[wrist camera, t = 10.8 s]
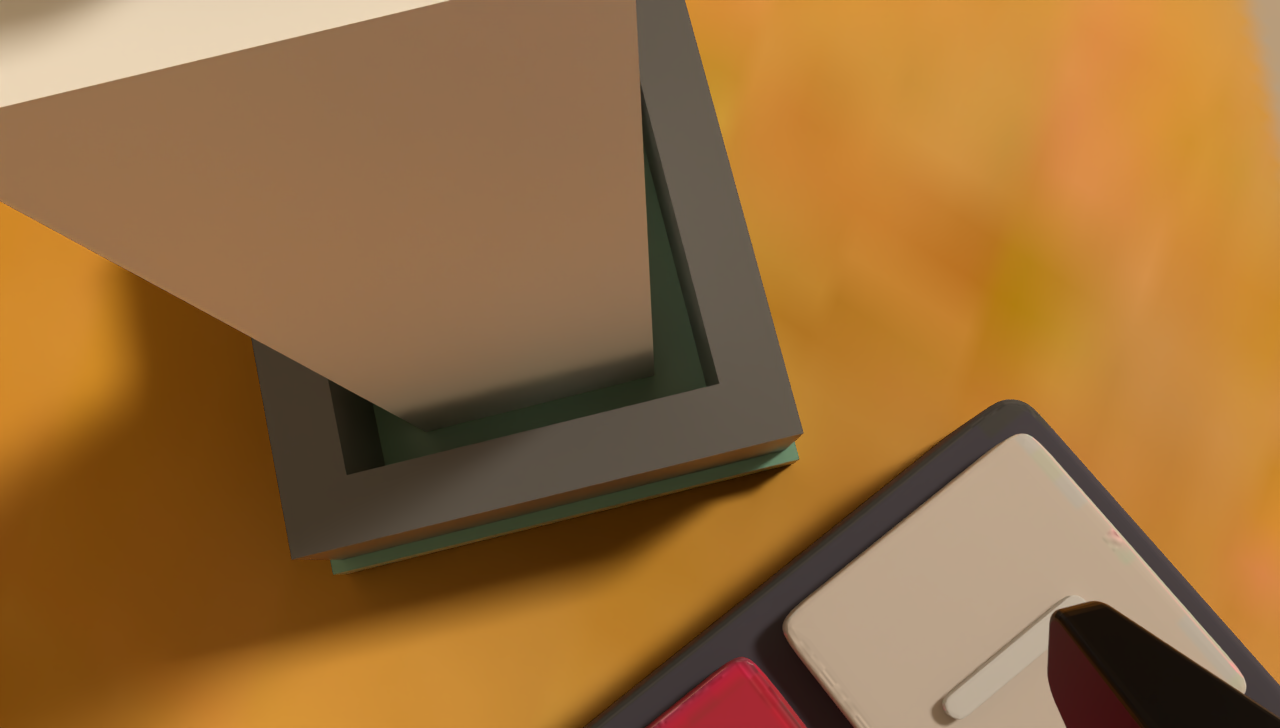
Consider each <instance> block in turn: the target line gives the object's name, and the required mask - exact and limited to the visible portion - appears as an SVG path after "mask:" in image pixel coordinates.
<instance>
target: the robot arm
mask: <svg viewBox="0 0 1280 728" xmlns="http://www.w3.org/2000/svg"><path fill="white" fill-rule="evenodd" d="M1047 677H1048V683H1049V687H1050V690H1051V693H1052V696H1053V699H1054V702H1055V704H1056V706H1057V708H1058V711H1059V713H1060V715H1061V717H1062V720H1063V722H1064V724H1065V726H1066V728H1280V717H1278V716H1276V715H1275V714H1273V713H1272V712H1270V711H1269V710H1267V709H1266V708H1264V707H1263V706H1261V705H1260V704H1258V703H1257V702H1255V701H1254V700H1252V699H1251V698H1249V697H1248V696H1246V695H1245V694H1243V693H1242V692H1240V691H1239V690H1237V689H1236V688H1234V687H1232V686H1231V685H1229V684H1228V683H1226V682H1225V681H1223V680H1222V679H1220V678H1219V677H1217V676H1216V675H1214V674H1213V673H1211V672H1210V671H1208V670H1207V669H1205V668H1204V667H1202V666H1201V665H1199V664H1198V663H1196V662H1195V661H1193V660H1192V659H1190V658H1188V657H1187V656H1185V655H1184V654H1182V653H1181V652H1179V651H1178V650H1176V649H1175V648H1173V647H1172V646H1170V645H1169V644H1167V643H1166V642H1164V641H1163V640H1161V639H1160V638H1158V637H1157V636H1155V635H1154V634H1152V633H1151V632H1149V631H1148V630H1146V629H1144V628H1143V627H1141V626H1140V625H1138V624H1137V623H1135V622H1134V621H1132V620H1131V619H1129V618H1128V617H1126V616H1125V615H1123V614H1122V613H1120V612H1119V611H1117V610H1116V609H1114V608H1113V607H1111V606H1109V605H1108V604H1106V603H1103V602H1099V601H1088V602H1084V603H1080V604H1077V605H1073V606H1069V607H1065V608H1061V609H1058V610H1056V611H1054V612H1053V614H1052V615H1051V617H1050V622H1049V638H1048V661H1047Z"/></svg>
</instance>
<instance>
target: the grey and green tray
mask: <svg viewBox="0 0 1280 728" xmlns="http://www.w3.org/2000/svg"><path fill="white" fill-rule="evenodd" d="M636 13H637V33H638V53H639V73H640V94H641V114H642V134H643V154H644V174H645V194H646V214H647V234H648V254H649V274H650V294H651V314H652V334H653V354H654V374H655V375H654V376H650V377H646V378H642V379H638V380H634V381H630V382H626V383H622V384H618V385H614V386H610V387H606V388H602V389H598V390H594V391H590V392H586V393H582V394H577V395H573V396H569V397H565V398H561V399H557V400H553V401H549V402H545V403H541V404H537V405H533V406H529V407H525V408H521V409H517V410H513V411H509V412H505V413H501V414H497V415H493V416H489V417H484V418H480V419H476V420H472V421H468V422H464V423H460V424H456V425H452V426H448V427H444V428H440V429H436V430H432V431H428V432H425V431H423V430H421V429H420V428H418V427H416V426H414V425H412V424H410V423H408V422H407V421H405V420H403V419H401V418H399V417H397V416H396V415H394V414H392V413H390V412H388V411H386V410H384V409H383V408H381V407H379V406H377V405H375V404H373V403H372V402H370V401H368V400H366V399H364V398H362V397H360V396H359V395H357V394H355V393H353V392H351V391H349V390H348V389H346V388H344V387H342V386H340V385H338V384H336V383H335V382H333V381H331V380H329V379H327V378H325V377H324V376H322V375H320V374H318V373H316V372H314V371H313V370H311V369H309V368H307V367H305V366H303V365H301V364H300V363H298V362H296V361H294V360H292V359H290V358H289V357H287V356H285V355H283V354H281V353H279V352H277V351H276V350H274V349H272V348H270V347H268V346H266V345H265V344H263V343H261V342H259V341H257V340H255V339H253V338H252V337H251V339H252V345H253V350H254V355H255V361H256V366H257V372H258V377H259V383H260V388H261V394H262V399H263V405H264V410H265V416H266V421H267V427H268V432H269V438H270V443H271V449H272V454H273V460H274V465H275V471H276V476H277V481H278V487H279V492H280V498H281V503H282V509H283V514H284V520H285V525H286V531H287V536H288V542H289V547H290V553H291V558H292V560H330V561H331V566H332V572H333V575H336V574H349V573H353V572H357V571H361V570H365V569H369V568H373V567H377V566H382V565H386V564H390V563H394V562H398V561H402V560H406V559H410V558H414V557H418V556H422V555H426V554H430V553H434V552H438V551H442V550H446V549H450V548H454V547H458V546H462V545H466V544H470V543H474V542H478V541H482V540H486V539H490V538H495V537H499V536H503V535H507V534H511V533H515V532H519V531H523V530H527V529H531V528H535V527H539V526H543V525H547V524H551V523H555V522H559V521H563V520H567V519H571V518H575V517H579V516H583V515H587V514H591V513H595V512H599V511H603V510H608V509H612V508H616V507H620V506H624V505H628V504H632V503H636V502H640V501H644V500H648V499H652V498H656V497H660V496H664V495H668V494H672V493H676V492H680V491H684V490H688V489H692V488H696V487H700V486H704V485H708V484H712V483H717V482H721V481H725V480H729V479H733V478H737V477H741V476H745V475H749V474H753V473H757V472H761V471H765V470H769V469H773V468H777V467H781V466H785V465H789V464H793V463H795V462H796V461H797V460H799V456H798V453H797V449H796V445H795V442H794V441H795V440H797V439H798V438H799V437H800V436H801V435H802V434H803V430H802V426H801V422H800V419H799V415H798V411H797V408H796V404H795V400H794V397H793V393H792V390H791V386H790V382H789V379H788V375H787V371H786V368H785V364H784V360H783V357H782V353H781V349H780V346H779V342H778V338H777V335H776V331H775V328H774V324H773V320H772V317H771V313H770V309H769V306H768V302H767V298H766V295H765V291H764V287H763V284H762V280H761V276H760V273H759V269H758V266H757V262H756V258H755V255H754V251H753V247H752V244H751V240H750V236H749V233H748V229H747V225H746V222H745V218H744V214H743V211H742V207H741V204H740V200H739V196H738V193H737V189H736V185H735V182H734V178H733V174H732V171H731V167H730V163H729V160H728V156H727V152H726V149H725V145H724V142H723V138H722V134H721V131H720V127H719V123H718V120H717V116H716V112H715V109H714V105H713V101H712V98H711V94H710V90H709V87H708V83H707V80H706V76H705V72H704V69H703V65H702V61H701V58H700V54H699V50H698V47H697V43H696V39H695V36H694V32H693V28H692V25H691V21H690V18H689V14H688V10H687V7H686V3H685V0H636Z"/></svg>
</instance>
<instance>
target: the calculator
mask: <svg viewBox="0 0 1280 728" xmlns="http://www.w3.org/2000/svg"><path fill="white" fill-rule="evenodd" d="M1088 601H1099V602H1103V603H1106V604H1108V605H1109V606H1111V607H1113V608H1114V609H1116V610H1117V611H1119V612H1120V613H1122V614H1123V615H1125V616H1126V617H1128V618H1129V619H1131V620H1132V621H1134V622H1135V623H1137V624H1138V625H1140V626H1141V627H1143V628H1144V629H1146V630H1148V631H1149V632H1151V633H1152V634H1154V635H1155V636H1157V637H1158V638H1160V639H1161V640H1163V641H1164V642H1166V643H1167V644H1169V645H1170V646H1172V647H1173V648H1175V649H1176V650H1178V651H1179V652H1181V653H1182V654H1184V655H1185V656H1187V657H1188V658H1190V659H1192V660H1193V661H1195V662H1196V663H1198V664H1199V665H1201V666H1202V667H1204V668H1205V669H1207V670H1208V671H1210V672H1211V673H1213V674H1214V675H1216V676H1217V677H1219V678H1220V679H1222V680H1223V681H1225V682H1226V683H1228V684H1229V685H1231V686H1232V687H1234V688H1236V689H1237V690H1239V691H1240V692H1242V693H1243V694H1245V695H1246V696H1248V697H1249V698H1251V699H1252V700H1254V701H1255V702H1257V703H1258V704H1260V705H1261V706H1263V707H1264V708H1266V709H1267V710H1269V711H1270V712H1272V713H1273V714H1275V715H1276V716H1278V717H1280V685H1279V684H1278V683H1277V682H1276V681H1275V680H1274V679H1273V677H1272V676H1271V675H1270V674H1269V673H1268V672H1267V671H1266V670H1265V668H1264V667H1263V666H1262V665H1261V664H1260V663H1259V662H1258V661H1257V659H1256V658H1255V657H1254V656H1253V655H1252V654H1251V653H1250V651H1249V650H1248V649H1247V648H1246V647H1245V646H1244V645H1243V644H1242V642H1241V641H1240V640H1239V639H1238V638H1237V637H1236V636H1235V635H1234V633H1233V632H1232V631H1231V630H1230V629H1229V628H1228V627H1227V626H1226V624H1225V623H1224V622H1223V621H1222V620H1221V619H1220V618H1219V616H1218V615H1217V614H1216V613H1215V612H1214V611H1213V610H1212V609H1211V607H1210V606H1209V605H1208V604H1207V603H1206V602H1205V601H1204V600H1203V598H1202V597H1201V596H1200V595H1199V594H1198V593H1197V592H1196V591H1195V589H1194V588H1193V587H1192V586H1191V585H1190V584H1189V583H1188V581H1187V580H1186V579H1185V578H1184V577H1183V576H1182V575H1181V574H1180V572H1179V571H1178V570H1177V569H1176V568H1175V567H1174V566H1173V565H1172V563H1171V562H1170V561H1169V560H1168V559H1167V558H1166V557H1165V556H1164V554H1163V553H1162V552H1161V551H1160V550H1159V549H1158V548H1157V546H1156V545H1155V544H1154V543H1153V542H1152V541H1151V540H1150V539H1149V537H1148V536H1147V535H1146V534H1145V533H1144V532H1143V531H1142V530H1141V528H1140V527H1139V526H1138V525H1137V524H1136V523H1135V522H1134V521H1133V519H1132V518H1131V517H1130V516H1129V515H1128V514H1127V513H1126V511H1125V510H1124V509H1123V508H1122V507H1121V506H1120V505H1119V504H1118V502H1117V501H1116V500H1115V499H1114V498H1113V497H1112V496H1111V495H1110V493H1109V492H1108V491H1107V490H1106V489H1105V488H1104V487H1103V486H1102V484H1101V483H1100V482H1099V481H1098V480H1097V479H1096V478H1095V476H1094V475H1093V474H1092V473H1091V472H1090V471H1089V470H1088V469H1087V467H1086V466H1085V465H1084V464H1083V463H1082V462H1081V461H1080V460H1079V458H1078V457H1077V456H1076V455H1075V454H1074V453H1073V452H1072V451H1071V449H1070V448H1069V447H1068V446H1067V445H1066V444H1065V443H1064V441H1063V440H1062V439H1061V438H1060V437H1059V436H1058V435H1057V434H1056V432H1055V431H1054V430H1053V429H1052V428H1051V427H1050V426H1049V425H1048V424H1047V422H1046V421H1045V420H1044V419H1043V418H1042V417H1041V416H1040V415H1039V414H1038V413H1037V412H1036V411H1035V410H1034V409H1033V408H1032V407H1031V406H1029V405H1028V404H1026V403H1024V402H1022V401H1019V400H1003V401H1000V402H997V403H995V404H993V405H992V406H990V407H988V408H987V409H985V410H984V411H982V412H981V413H979V414H978V415H977V416H975V417H974V418H972V419H971V420H969V421H968V422H966V423H965V424H963V425H962V426H960V427H959V428H958V429H956V430H955V431H953V432H952V433H951V434H949V435H948V436H947V437H945V438H944V439H943V440H942V441H940V442H939V443H938V444H937V445H935V446H934V447H933V448H932V449H930V450H929V451H928V452H927V453H925V454H924V455H923V456H922V457H920V458H919V459H918V460H917V461H915V462H914V463H913V464H912V465H910V466H909V467H908V468H907V469H905V470H904V471H903V472H902V473H900V474H899V475H898V476H897V477H895V478H894V479H893V480H892V481H890V482H889V483H888V484H887V485H885V486H884V487H883V488H882V489H880V490H879V491H878V492H877V493H875V494H874V495H873V496H872V497H870V498H869V499H868V500H867V501H865V502H864V503H863V504H862V505H860V506H859V507H858V508H857V509H855V510H854V511H853V512H852V513H850V514H849V515H848V516H847V517H845V518H844V519H843V520H842V521H840V522H839V523H838V524H837V525H835V526H834V527H833V528H832V529H830V530H829V531H828V532H827V533H825V534H824V535H823V536H822V537H820V538H819V539H818V540H817V541H815V542H814V543H813V544H812V545H810V546H809V547H808V548H807V549H805V550H804V551H803V552H802V553H800V554H799V555H798V556H797V557H795V558H794V559H793V560H792V561H790V562H789V563H788V564H787V565H786V566H784V567H783V568H782V569H781V570H779V571H778V572H777V573H776V574H774V575H773V576H772V577H771V578H769V579H768V580H767V581H766V582H764V583H763V584H762V585H761V586H759V587H758V588H757V589H756V590H754V591H753V592H752V593H751V594H749V595H748V596H747V597H746V598H744V599H743V600H742V601H741V602H739V603H738V604H737V605H736V606H734V607H733V608H732V609H731V610H729V611H728V612H727V613H726V614H724V615H723V616H722V617H721V618H719V619H718V620H717V621H716V622H714V623H713V624H712V625H711V626H709V627H708V628H707V629H706V630H704V631H703V632H702V633H701V634H699V635H698V636H697V637H696V638H694V639H693V640H692V641H691V642H689V643H688V644H687V645H686V646H684V647H683V648H682V649H681V650H679V651H678V652H677V653H676V654H674V655H673V656H672V657H671V658H669V659H668V660H667V661H666V662H664V663H663V664H662V665H661V666H659V667H658V668H657V669H656V670H654V671H653V672H652V673H651V674H649V675H648V676H647V677H646V678H644V679H643V680H642V681H641V682H639V683H638V684H637V685H636V686H634V687H633V688H632V689H631V690H629V691H628V692H627V693H626V694H624V695H623V696H622V697H621V698H619V699H618V700H617V701H616V702H614V703H613V704H612V705H611V706H609V707H608V708H607V709H606V710H604V711H603V712H602V713H601V714H599V715H598V716H597V717H596V718H594V719H593V720H592V721H591V722H589V723H588V724H587V725H586V726H585V727H583V728H1066V726H1065V724H1064V722H1063V720H1062V717H1061V715H1060V713H1059V711H1058V708H1057V706H1056V704H1055V702H1054V699H1053V696H1052V693H1051V690H1050V687H1049V683H1048V677H1047V661H1048V638H1049V622H1050V617H1051V615H1052V614H1053V612H1054V611H1056V610H1058V609H1061V608H1065V607H1069V606H1073V605H1077V604H1080V603H1084V602H1088Z"/></svg>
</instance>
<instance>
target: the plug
mask: <svg viewBox="0 0 1280 728" xmlns="http://www.w3.org/2000/svg"><path fill="white" fill-rule="evenodd" d="M0 201H1V202H3V203H4V204H6V205H8V206H10V207H12V208H14V209H15V210H17V211H19V212H21V213H23V214H25V215H27V216H28V217H30V218H32V219H34V220H36V221H38V222H39V223H41V224H43V225H45V226H47V227H49V228H51V229H52V230H54V231H56V232H58V233H60V234H62V235H63V236H65V237H67V238H69V239H71V240H73V241H75V242H76V243H78V244H80V245H82V246H84V247H86V248H87V249H89V250H91V251H93V252H95V253H97V254H99V255H100V256H102V257H104V258H106V259H108V260H110V261H111V262H113V263H115V264H117V265H119V266H121V267H122V268H124V269H126V270H128V271H130V272H132V273H134V274H135V275H137V276H139V277H141V278H143V279H145V280H146V281H148V282H150V283H152V284H154V285H156V286H158V287H159V288H161V289H163V290H165V291H167V292H169V293H170V294H172V295H174V296H176V297H178V298H180V299H182V300H183V301H185V302H187V303H189V304H191V305H193V306H194V307H196V308H198V309H200V310H202V311H204V312H206V313H207V314H209V315H211V316H213V317H215V318H217V319H218V320H220V321H222V322H224V323H226V324H228V325H229V326H231V327H233V328H235V329H237V330H239V331H241V332H242V333H244V334H246V335H248V336H250V337H252V338H253V339H255V340H257V341H259V342H261V343H263V344H265V345H266V346H268V347H270V348H272V349H274V350H276V351H277V352H279V353H281V354H283V355H285V356H287V357H289V358H290V359H292V360H294V361H296V362H298V363H300V364H301V365H303V366H305V367H307V368H309V369H311V370H313V371H314V372H316V373H318V374H320V375H322V376H324V377H325V378H327V379H329V380H331V381H333V382H335V383H336V384H338V385H340V386H342V387H344V388H346V389H348V390H349V391H351V392H353V393H355V394H357V395H359V396H360V397H362V398H364V399H366V400H368V401H370V402H372V403H373V404H375V405H377V406H379V407H381V408H383V409H384V410H386V411H388V412H390V413H392V414H394V415H396V416H397V417H399V418H401V419H403V420H405V421H407V422H408V423H410V424H412V425H414V426H416V427H418V428H420V429H421V430H423V431H425V432H428V431H432V430H436V429H440V428H444V427H448V426H452V425H456V424H460V423H464V422H468V421H472V420H476V419H480V418H484V417H489V416H493V415H497V414H501V413H505V412H509V411H513V410H517V409H521V408H525V407H529V406H533V405H537V404H541V403H545V402H549V401H553V400H557V399H561V398H565V397H569V396H573V395H577V394H582V393H586V392H590V391H594V390H598V389H602V388H606V387H610V386H614V385H618V384H622V383H626V382H630V381H634V380H638V379H642V378H646V377H650V376H654V375H655V374H654V354H653V334H652V314H651V294H650V274H649V254H648V234H647V214H646V194H645V174H644V154H643V134H642V114H641V94H640V73H639V53H638V33H637V13H636V0H0Z"/></svg>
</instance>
